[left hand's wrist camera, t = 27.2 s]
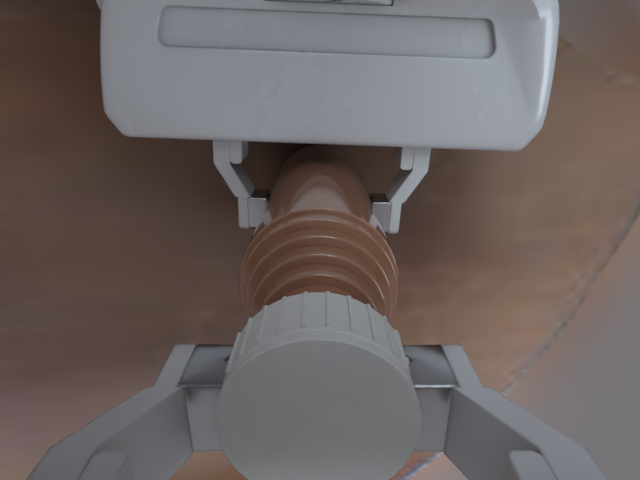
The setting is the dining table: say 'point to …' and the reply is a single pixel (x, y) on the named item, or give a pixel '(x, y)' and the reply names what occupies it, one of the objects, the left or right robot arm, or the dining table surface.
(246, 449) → the cap
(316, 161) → the bottle
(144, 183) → the dining table surface
